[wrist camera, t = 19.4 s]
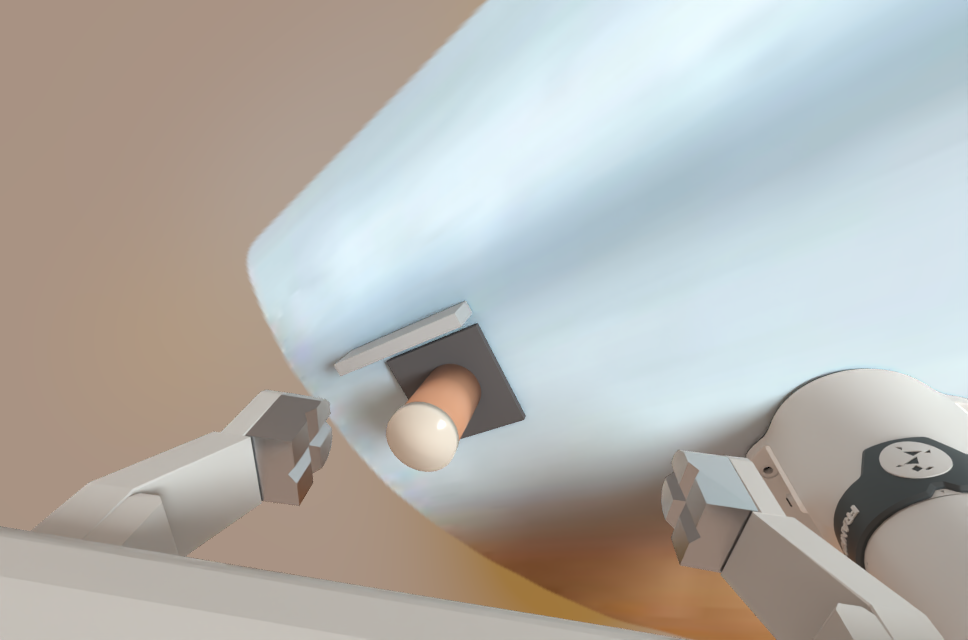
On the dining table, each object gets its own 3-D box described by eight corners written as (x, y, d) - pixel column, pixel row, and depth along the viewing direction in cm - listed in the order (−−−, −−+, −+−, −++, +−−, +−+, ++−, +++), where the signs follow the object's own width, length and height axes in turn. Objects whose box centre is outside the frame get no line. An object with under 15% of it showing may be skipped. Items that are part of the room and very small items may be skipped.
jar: (493, 405, 49) (468, 460, 40) (443, 423, 52) (409, 479, 43) (464, 353, 48) (431, 398, 39) (415, 374, 51) (373, 421, 42)
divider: (472, 313, 47) (461, 326, 43) (358, 360, 53) (340, 376, 49) (466, 300, 47) (454, 313, 43) (352, 350, 53) (333, 364, 49)
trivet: (525, 415, 50) (524, 419, 49) (437, 442, 54) (435, 446, 54) (477, 323, 47) (475, 325, 47) (389, 359, 52) (386, 362, 51)
